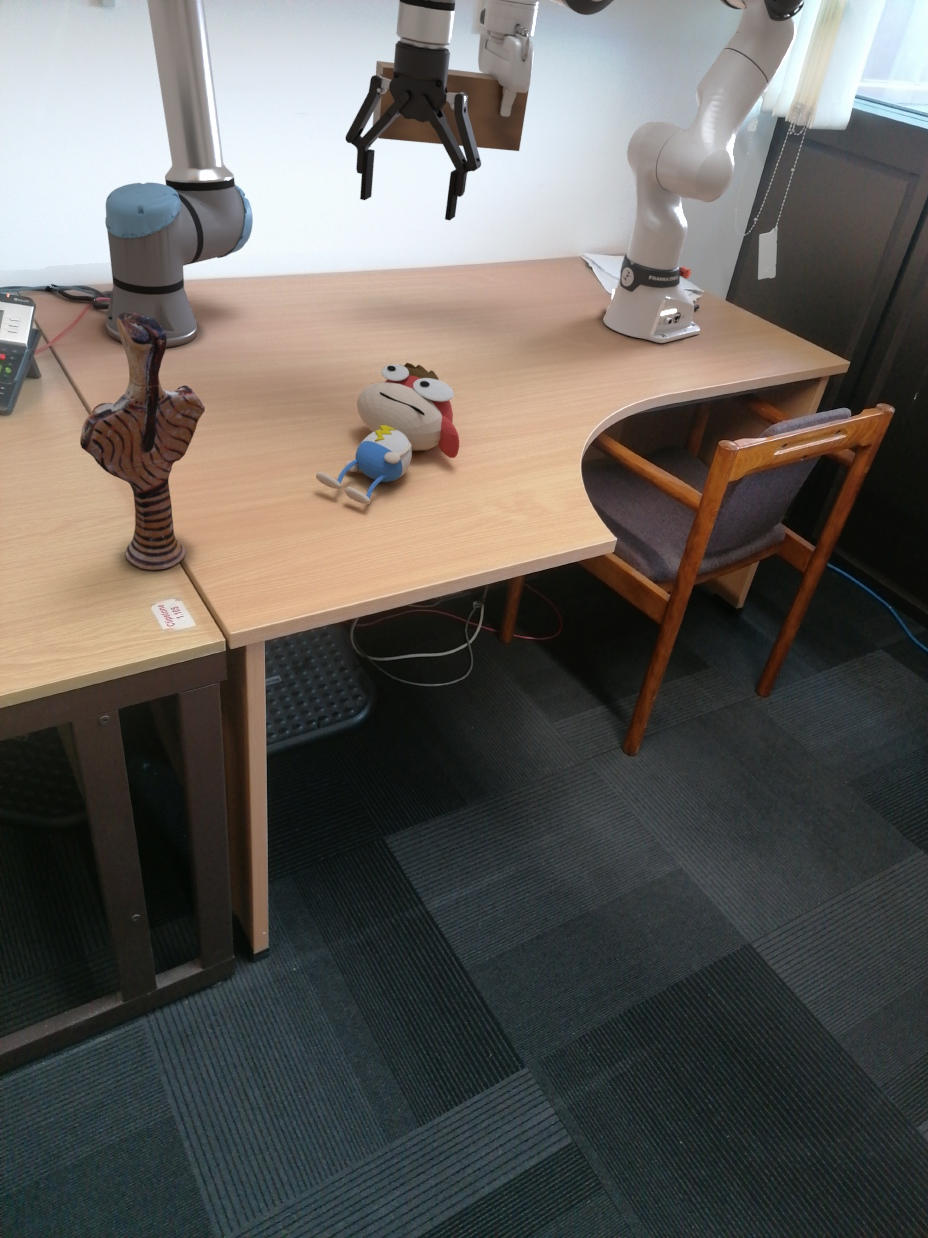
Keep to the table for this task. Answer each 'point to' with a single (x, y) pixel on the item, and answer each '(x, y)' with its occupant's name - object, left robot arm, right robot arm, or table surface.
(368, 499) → the toy
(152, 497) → the figurine
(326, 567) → the table surface
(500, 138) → the box
